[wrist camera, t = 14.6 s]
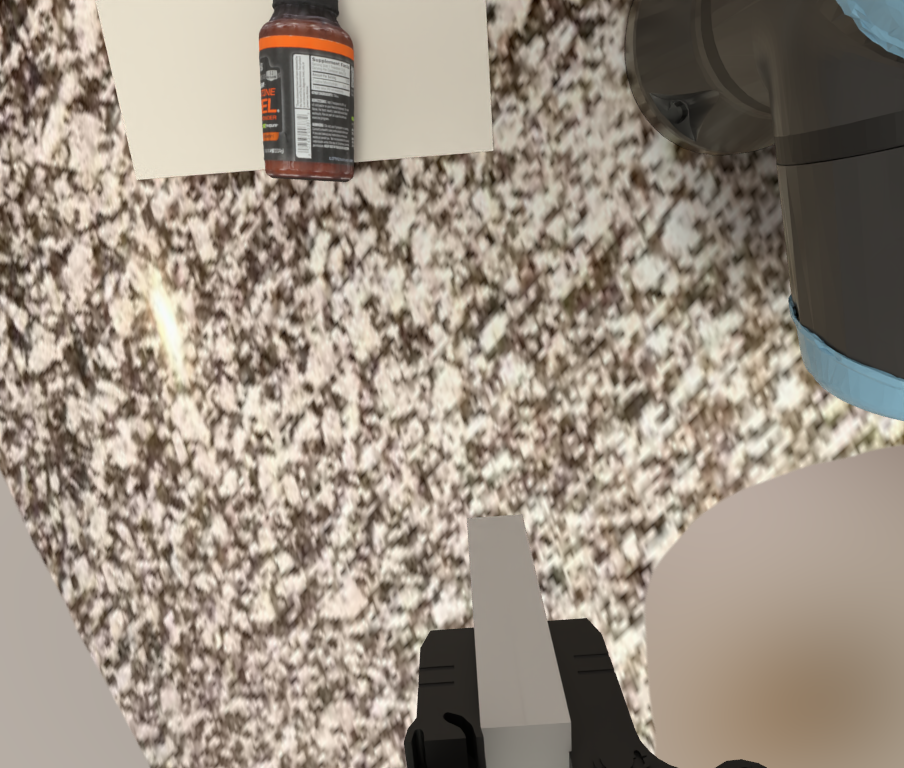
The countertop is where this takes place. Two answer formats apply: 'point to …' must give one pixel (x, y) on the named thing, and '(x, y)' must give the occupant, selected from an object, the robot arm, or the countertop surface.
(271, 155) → the supplement bottle
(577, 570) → the countertop surface
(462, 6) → the mat
